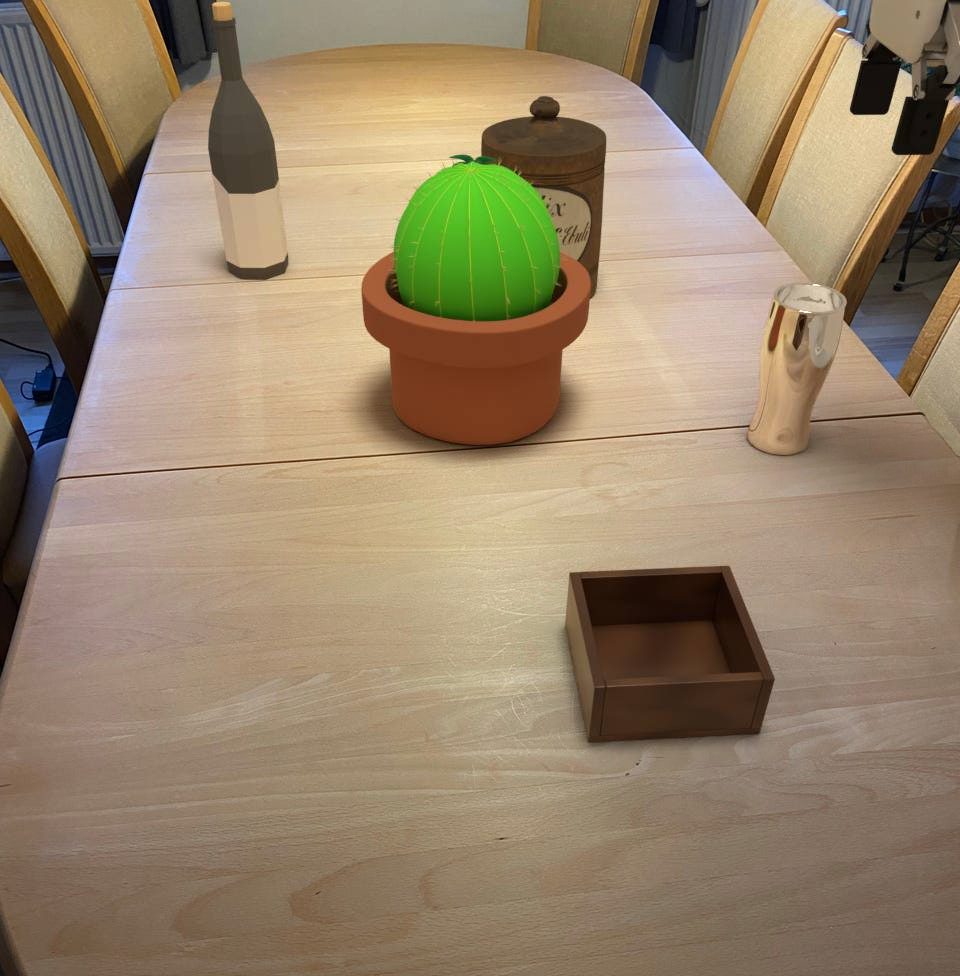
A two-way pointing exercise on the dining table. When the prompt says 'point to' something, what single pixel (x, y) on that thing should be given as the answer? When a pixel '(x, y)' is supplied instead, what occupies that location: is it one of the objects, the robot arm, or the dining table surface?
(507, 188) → the potted cactus
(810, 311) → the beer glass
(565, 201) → the wooden container
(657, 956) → the dining table surface
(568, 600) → the crate
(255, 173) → the wine bottle
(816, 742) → the dining table surface
